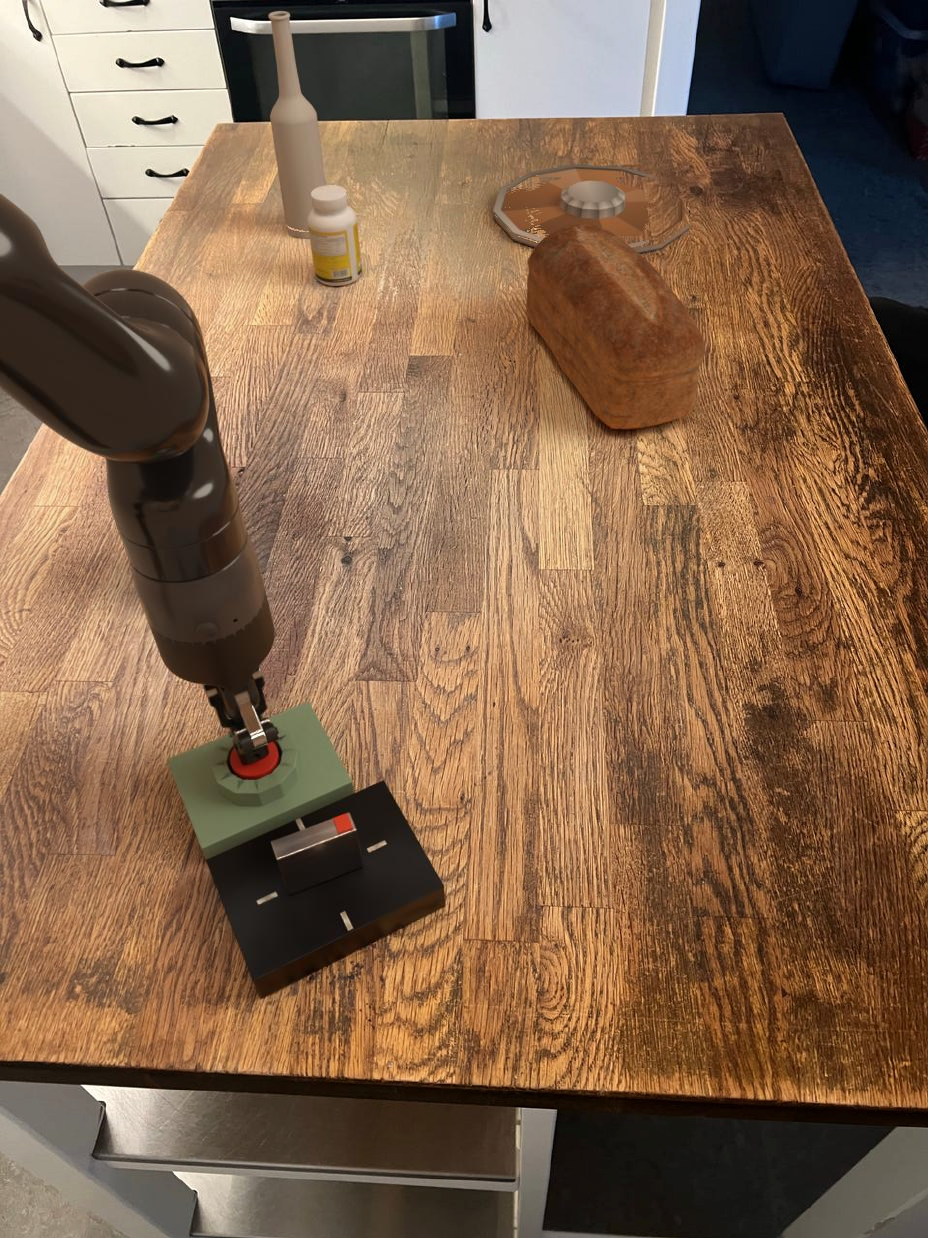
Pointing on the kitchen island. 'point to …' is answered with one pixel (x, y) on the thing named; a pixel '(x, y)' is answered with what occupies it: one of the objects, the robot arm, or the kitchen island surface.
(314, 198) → the pill bottle
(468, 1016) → the kitchen island surface
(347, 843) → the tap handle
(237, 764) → the button
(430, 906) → the base
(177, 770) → the block
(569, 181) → the shield
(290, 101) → the bottle
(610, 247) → the bread
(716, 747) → the kitchen island surface
